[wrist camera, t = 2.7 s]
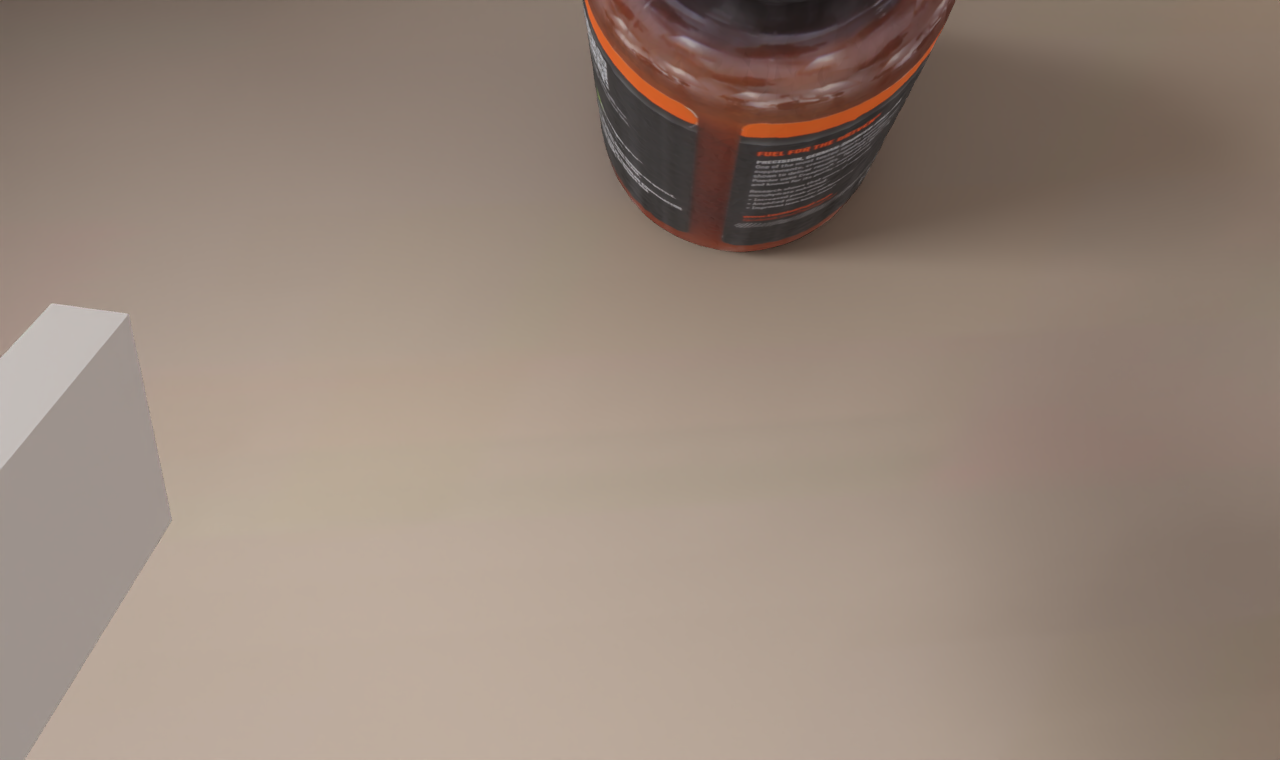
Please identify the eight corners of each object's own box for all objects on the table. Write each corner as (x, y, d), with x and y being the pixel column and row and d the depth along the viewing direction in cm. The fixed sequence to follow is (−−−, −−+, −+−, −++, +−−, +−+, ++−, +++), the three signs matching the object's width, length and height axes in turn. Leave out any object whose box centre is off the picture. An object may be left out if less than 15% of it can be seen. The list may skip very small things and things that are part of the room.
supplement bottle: (928, 113, 26) (1137, -211, 15) (753, 314, 25) (830, 137, 14) (721, -54, 27) (770, -488, 15) (545, 139, 26) (461, -164, 15)
